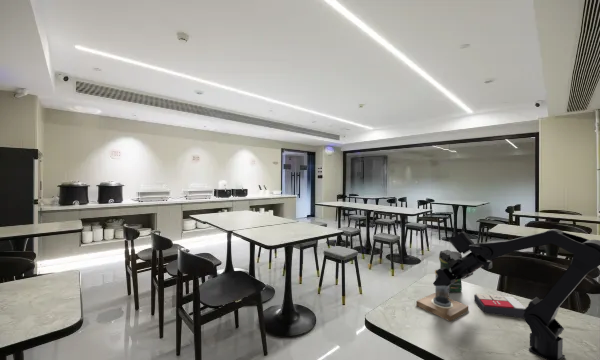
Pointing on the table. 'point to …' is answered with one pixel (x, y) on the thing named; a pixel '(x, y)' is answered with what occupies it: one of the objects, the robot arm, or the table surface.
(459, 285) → the coffee jar
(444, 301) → the housing
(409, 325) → the table surface
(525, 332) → the table surface
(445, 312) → the stand
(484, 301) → the red and white box
